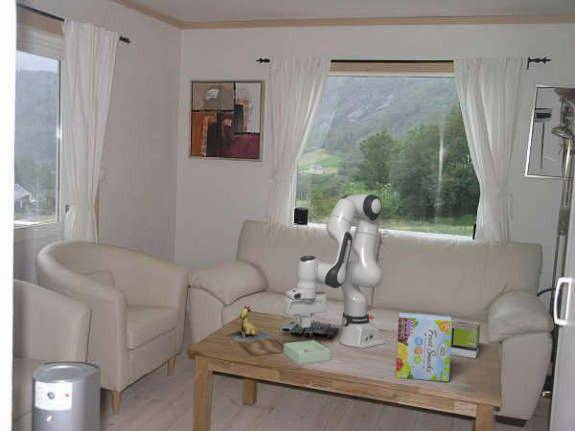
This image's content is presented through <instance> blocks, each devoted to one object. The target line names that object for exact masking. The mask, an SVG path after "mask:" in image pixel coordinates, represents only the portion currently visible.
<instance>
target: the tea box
mask: <svg viewBox="0 0 575 431" xmlns="http://www.w3.org/2000/svg"><path fill="white" fill-rule="evenodd" d="M451 320H452V336H451V353H450V355H452V356H458V357H465V358H470V359H476V358H477V357H478V354H479V348H480V331H481V323H480V322H475V321H469V320H468V321H467V320H463V319H462V320H460V319H453V318H451Z"/></svg>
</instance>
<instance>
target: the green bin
mask: <svg viewBox="0 0 575 431" xmlns="http://www.w3.org/2000/svg"><path fill="white" fill-rule="evenodd" d="M283 344H284V352H283V353H282V354H283V355H284V356H286V357H287V358H289V360H291V361H292V362H294V363H295V364H296V365H298V366H303V365H309V364H317V363H326V362H330V360H331V350H330V349H329V348H327V347H325V346H324V345H322V344H320V343H319V342H318V341H316V340H313V339H311V340H302V341H294V342H285V343H283ZM309 347H312V348H314V349H316V351H314V352H305V353H304V348H309Z"/></svg>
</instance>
